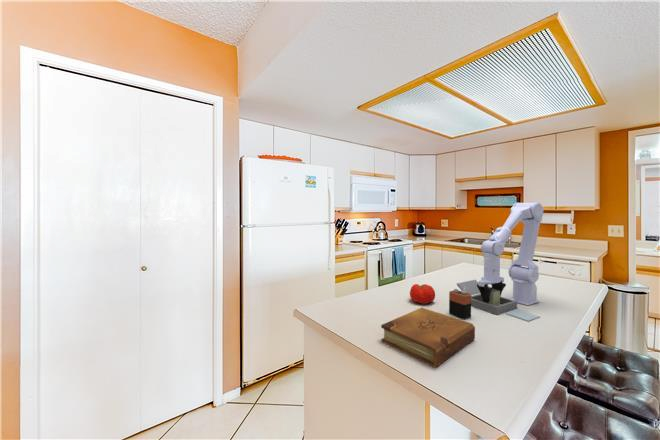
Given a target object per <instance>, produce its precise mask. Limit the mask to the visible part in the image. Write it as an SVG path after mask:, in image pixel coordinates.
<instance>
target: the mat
mask: <svg viewBox="0 0 660 440" xmlns="http://www.w3.org/2000/svg"><path fill="white" fill-rule="evenodd" d="M505 315H507V316H511V317H513V318H516V319H519V320H522V321H525V322H531V321H534V320H536V319H539V318H541V316H540V315H537V314H533V313H530V312H526V311H523V310H520V309H518V308H517V309H514V310H511V311H508V312H505Z"/></svg>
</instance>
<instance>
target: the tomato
mask: <svg viewBox="0 0 660 440" xmlns="http://www.w3.org/2000/svg"><path fill="white" fill-rule="evenodd" d="M409 297H410V299H411V300H412V301H414V302H415V303H419V304H422V305H423V304H424V305H426V304H428V303H431V302H432V303H433V302H434V300H435V298H436V292H435V289H434V288H433V286H432V285H429V284H426V283H424V284H421V285H420V284H418V283H415V284H412V286H411V288H410V291H409Z"/></svg>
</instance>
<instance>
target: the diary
mask: <svg viewBox="0 0 660 440" xmlns="http://www.w3.org/2000/svg"><path fill="white" fill-rule="evenodd" d="M380 327H381V329H382V330H383V338H381V342H382V343H385V344H386V345H387V344H388V346H389V345H390V346H391V347H393V348H395V349H397V350H399V351H401V352H403V353H405V354H407V355H409V356H411V357H413V358H415V359H417V360H420V361H421V362H423V363H425V364H427V363H428V365H429V364H430V365H429V366H431V365H432V367H433V366H434V367H433V368H436V367H438V366H439V365H440V364H442V363H444V362H445V361H446V360H448V359H449V358H450V357H452V356H453V355H454V354H456V353H458V352H459V351H460V350H461V349H463V348H464V347H465V346H468V344H470V343H472V341H474V340H475V339H476V337H475V335H476V327H475V325H474V324H473V323H472V322H468V321H466V320H464V319H460V318H457V317H452V316H450V315H447V314H443V313H441V312H437V311H434V310H432V309H431V310H430V309H428V308H424V307H420V308H417V309H415V310H413V311H411V312H409V313H405V314H403V315H401V316H399V317H396V318H394V319H392V320H389V321H387V322H385V323H383V324H381V326H380Z"/></svg>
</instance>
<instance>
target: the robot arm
mask: <svg viewBox="0 0 660 440" xmlns="http://www.w3.org/2000/svg"><path fill="white" fill-rule="evenodd" d="M544 210H545V209H544V207H543V206H542V203H540V202H539V201H535V202H515V203H513V205H512V207H511V208H510V214H509V215H508V218H506V221H505V222H504V223H503V225H502V226H499V227H496V229H495V231H494V232H493V233H492V235H491V236H490V237H489V238H488V239H486V240H485V241H483V242H482V244H481V246H480V251H481V252H482V257H483V276H481V277H480V280H478V283H479V284H477V287H478V289H479V291H480V293H481V297H482V300H483V301H482V302H485V303H489V298H490V293H491V290H492V289H496V290H498V291H500V297H502V293H503V290H504V289H505V287H506V286H507V283H505V277H502V276H500V275H501V273H500V272H501V256H502V254H503V253H504V251H505V246H506V243H507V242H508V240H509V239H510V238H511V236H512V230H513V229H515V227H516V226H517V225H518V224H519V223H520V222H522V223H523V231H522V235H521V241H520V247H519V252H518V257H517V259H515V260H513V261H512V262H511V264H510V266H509V268H508V272H507V273H508V276H509V278H511V279H510V280H511V281H512V297H510V298H509V299H510V300H514V301H517V304H521V305H524V306H531V305H534V304H536V303H539V302H540V301H539V300H537V298H538V296H537V295H538V293H537V292H538V287H537V285H536V282H537V281H538V280H539V266H538V265H537V264H536V263H535V262H534V256H535V251H536V245H537V241H538V236H539V230H540V229H539V228H540V225H541V222H542V220H543V216H544ZM489 285H490V286H491V287H490V286H489Z"/></svg>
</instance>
